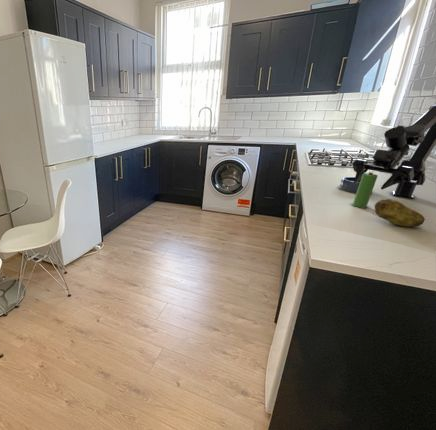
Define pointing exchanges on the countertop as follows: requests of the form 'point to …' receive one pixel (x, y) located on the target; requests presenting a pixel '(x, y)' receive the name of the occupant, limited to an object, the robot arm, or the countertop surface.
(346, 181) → the blue bowl
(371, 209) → the countertop surface
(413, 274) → the countertop surface
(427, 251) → the countertop surface
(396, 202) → the potato
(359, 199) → the courgette
